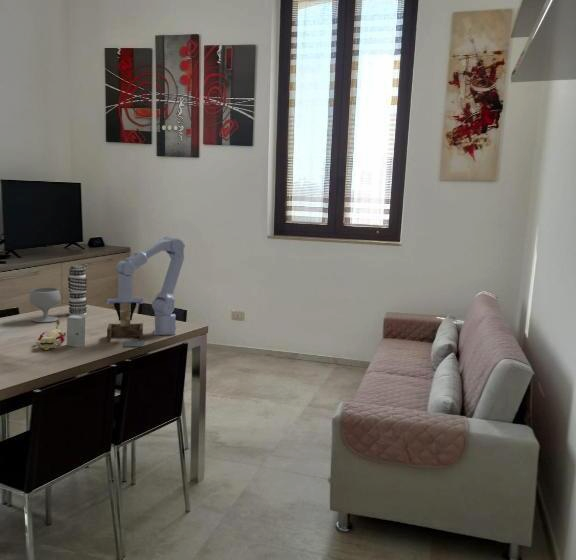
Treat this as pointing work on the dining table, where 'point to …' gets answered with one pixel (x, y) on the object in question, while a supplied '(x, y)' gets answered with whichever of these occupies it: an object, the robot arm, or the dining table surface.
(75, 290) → the decorative candle
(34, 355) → the dining table surface
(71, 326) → the skincare box
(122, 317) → the oak block
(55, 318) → the chalice
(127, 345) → the mat
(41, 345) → the cat figure
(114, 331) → the brown wooden arch
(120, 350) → the dining table surface
